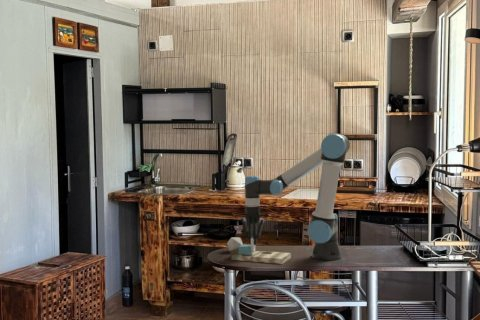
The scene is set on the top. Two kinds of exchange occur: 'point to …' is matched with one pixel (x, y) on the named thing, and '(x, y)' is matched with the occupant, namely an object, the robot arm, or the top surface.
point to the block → (245, 249)
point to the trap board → (261, 256)
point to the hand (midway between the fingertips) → (253, 250)
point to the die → (234, 243)
